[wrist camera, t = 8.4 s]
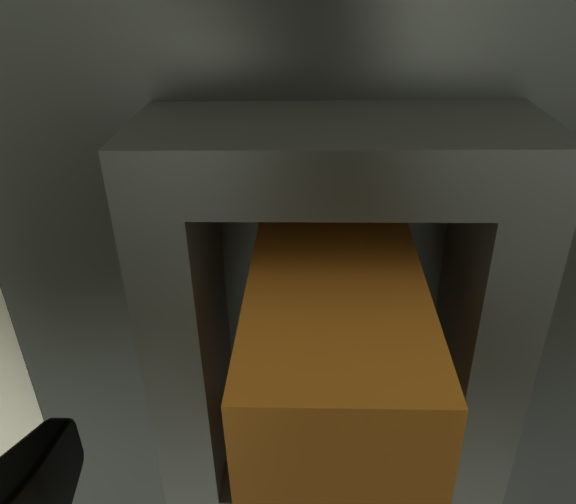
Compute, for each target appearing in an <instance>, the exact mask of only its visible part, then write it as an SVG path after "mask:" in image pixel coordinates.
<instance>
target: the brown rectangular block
mask: <svg viewBox="0 0 576 504" xmlns="http://www.w3.org/2000/svg"><path fill="white" fill-rule="evenodd" d="M468 411H469V410H468V407H467V404H466V401H465V398H464V395H463V392H462V389H461V386H460V383H459V379H458V376H457V373H456V370H455V367H454V364H453V361H452V358H451V355H450V352H449V349H448V346H447V343H446V340H445V337H444V334H443V331H442V327H441V324H440V321H439V318H438V315H437V312H436V309H435V306H434V303H433V300H432V297H431V294H430V291H429V288H428V285H427V282H426V278H425V275H424V272H423V269H422V266H421V263H420V260H419V257H418V254H417V251H416V248H415V245H414V242H413V239H412V236H411V233H410V230H409V226H408V223H324V222H259V224H258V229H257V234H256V239H255V244H254V248H253V253H252V258H251V263H250V268H249V273H248V278H247V283H246V287H245V292H244V297H243V302H242V307H241V312H240V317H239V321H238V326H237V331H236V336H235V341H234V346H233V351H232V356H231V360H230V365H229V370H228V375H227V380H226V385H225V390H224V395H223V399H222V404H221V412H222V421H223V429H224V438H225V446H226V455H227V464H228V472H229V481H230V489H231V498H232V504H452V499H453V493H454V488H455V482H456V477H457V471H458V466H459V460H460V455H461V449H462V444H463V438H464V433H465V427H466V422H467V416H468Z"/></svg>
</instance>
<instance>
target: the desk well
mask: <svg viewBox="0 0 576 504" xmlns="http://www.w3.org/2000/svg"><path fill="white" fill-rule="evenodd" d="M259 222H324V223H408V226H409V230H410V233H411V236H412V239H413V242H414V245H415V248H416V251H417V254H418V257H419V260H420V263H421V266H422V269H423V272H424V275H425V278H426V282H427V285H428V288H429V291H430V294H431V297H432V300H433V303H434V306H435V309H436V312H437V315H438V318H439V321H440V324H441V327H442V331H443V334H444V337H445V340H446V343H447V346H448V349H449V352H450V355H451V358H452V361H453V364H454V367H455V370H456V373H457V376H458V379H459V383H460V386H461V389H462V392H463V395H464V398H465V401H466V404H467V407H468V410H469V411H468V416H467V422H466V427H465V433H464V438H463V444H462V449H461V455H460V460H459V466H458V471H457V477H456V482H455V488H454V493H453V499H452V504H576V0H0V287H1V290H2V293H3V296H4V299H5V302H6V305H7V308H8V311H9V314H10V317H11V321H12V324H13V327H14V330H15V333H16V336H17V339H18V342H19V345H20V348H21V352H22V355H23V358H24V361H25V364H26V367H27V370H28V373H29V376H30V379H31V382H32V386H33V389H34V392H35V395H36V398H37V401H38V404H39V407H40V410H41V413H42V416H43V420H44V421H45V420H47V419H49V418H72V419H73V420H74V421H75V423H76V425H77V429H78V432H79V436H80V439H81V443H82V446H83V450H84V461H83V466H82V470H81V473H80V477H79V481H78V484H77V488H76V492H75V495H74V499H73V502H72V504H232V498H231V489H230V481H229V472H228V464H227V455H226V446H225V438H224V429H223V421H222V412H221V404H222V399H223V395H224V390H225V385H226V380H227V375H228V370H229V365H230V360H231V356H232V351H233V346H234V341H235V336H236V331H237V326H238V321H239V317H240V312H241V307H242V302H243V297H244V292H245V287H246V283H247V278H248V273H249V268H250V263H251V258H252V253H253V248H254V244H255V239H256V234H257V229H258V224H259Z"/></svg>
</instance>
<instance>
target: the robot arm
mask: <svg viewBox="0 0 576 504" xmlns="http://www.w3.org/2000/svg"><path fill="white" fill-rule="evenodd" d="M83 461H84V450H83V446H82V443H81V439H80V436H79V432H78V429H77V425H76V423H75V421H74V420H73V419H72V418H49V419H47V420H45V421H44V422H43V423H41V424H40V425H39V426H38V427H36V428H35V429H34V430H33V431H32V432H30V433H29V434H28V435H27V436H25V437H24V438H23V439H22V440H20V441H19V442H18V443H17V444H15V445H14V446H13V447H12V448H10V449H9V450H8V451H7V452H6V453H4V454H3V455H2V456H1V457H0V504H72V502H73V499H74V495H75V492H76V488H77V484H78V481H79V477H80V473H81V470H82V466H83Z"/></svg>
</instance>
